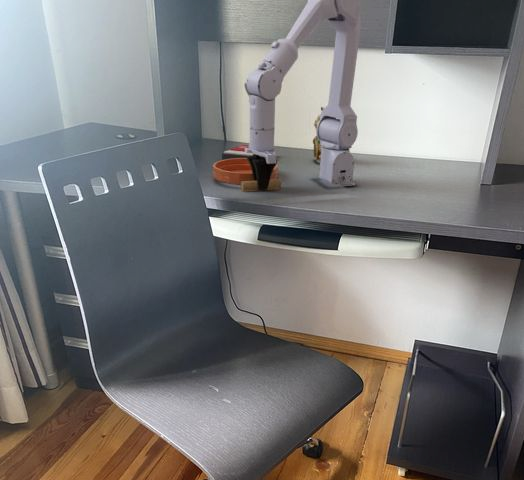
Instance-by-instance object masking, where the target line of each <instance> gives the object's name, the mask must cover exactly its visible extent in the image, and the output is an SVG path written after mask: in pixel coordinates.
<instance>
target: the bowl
mask: <svg viewBox="0 0 524 480" xmlns="http://www.w3.org/2000/svg"><path fill="white" fill-rule="evenodd" d="M278 175H279V164H276V166H275V167H274V169H273V171H272V174H271V177H270V180H273V179H279V176H278ZM212 176H213V178H214V179H215V180H216V181H218V182H222V183H225V184H231V185H241V182H243V181H254V179H253V174H252V170H251V166H250V164H249V161H248V159H247V158H233V159H226V160H222V159H221V160H218V161H216V162H214V163H213V164H212Z"/></svg>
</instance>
